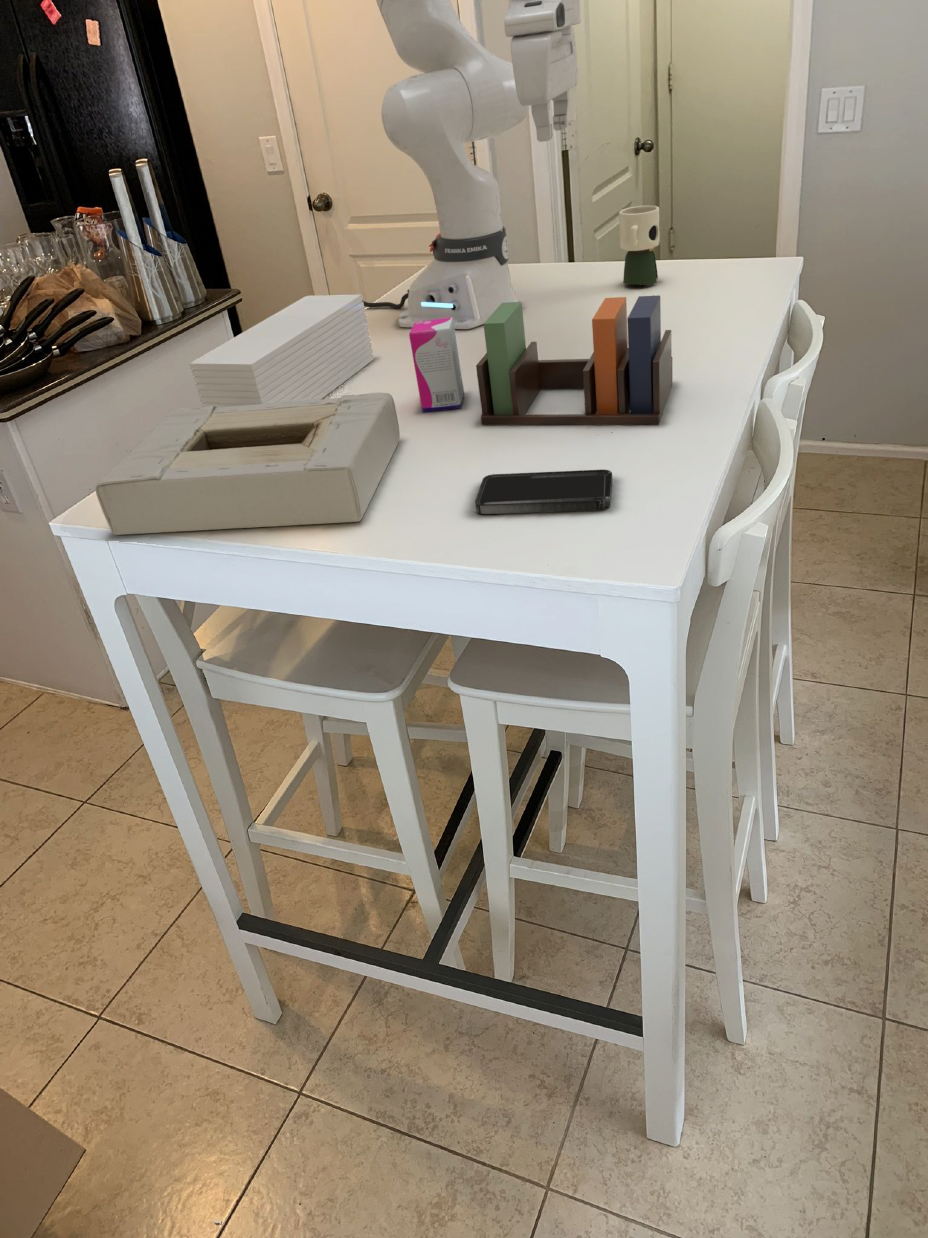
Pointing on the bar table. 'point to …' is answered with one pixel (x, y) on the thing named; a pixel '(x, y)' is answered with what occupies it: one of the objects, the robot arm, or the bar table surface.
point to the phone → (545, 492)
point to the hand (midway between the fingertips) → (553, 134)
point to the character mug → (639, 243)
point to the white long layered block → (288, 355)
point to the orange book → (609, 351)
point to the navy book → (643, 351)
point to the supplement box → (437, 364)
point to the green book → (504, 351)
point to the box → (254, 466)
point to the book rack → (573, 375)
